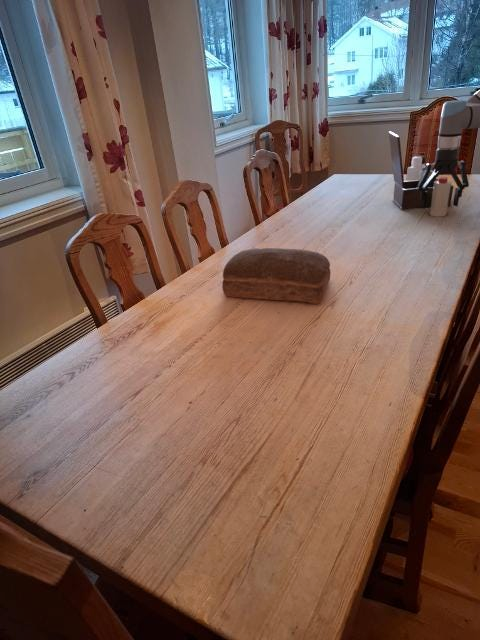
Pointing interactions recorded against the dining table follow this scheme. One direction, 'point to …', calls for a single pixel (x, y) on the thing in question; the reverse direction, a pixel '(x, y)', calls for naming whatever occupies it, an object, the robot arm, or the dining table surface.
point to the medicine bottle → (415, 168)
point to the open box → (414, 195)
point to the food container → (429, 173)
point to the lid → (396, 159)
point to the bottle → (440, 197)
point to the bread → (277, 275)
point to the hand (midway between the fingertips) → (439, 206)
